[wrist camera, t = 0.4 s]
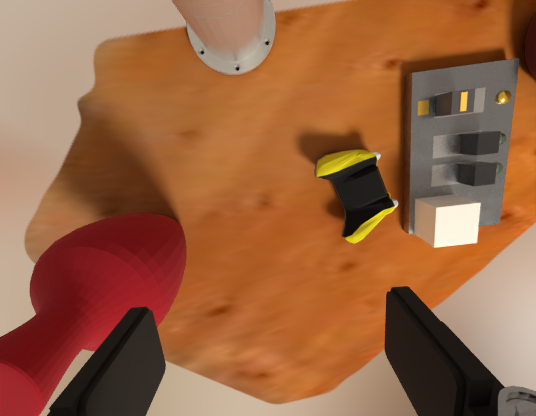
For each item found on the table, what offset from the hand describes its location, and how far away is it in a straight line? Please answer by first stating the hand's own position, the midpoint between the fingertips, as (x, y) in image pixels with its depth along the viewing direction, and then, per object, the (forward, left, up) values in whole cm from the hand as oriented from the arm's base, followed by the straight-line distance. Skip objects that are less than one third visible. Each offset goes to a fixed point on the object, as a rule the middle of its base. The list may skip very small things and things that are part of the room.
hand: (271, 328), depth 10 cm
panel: (-1, +30, -34) cm, 46 cm away
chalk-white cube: (+8, +26, -32) cm, 43 cm away
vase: (+7, -20, -35) cm, 40 cm away
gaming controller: (+3, +14, -35) cm, 37 cm away
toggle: (-9, +27, -32) cm, 43 cm away
